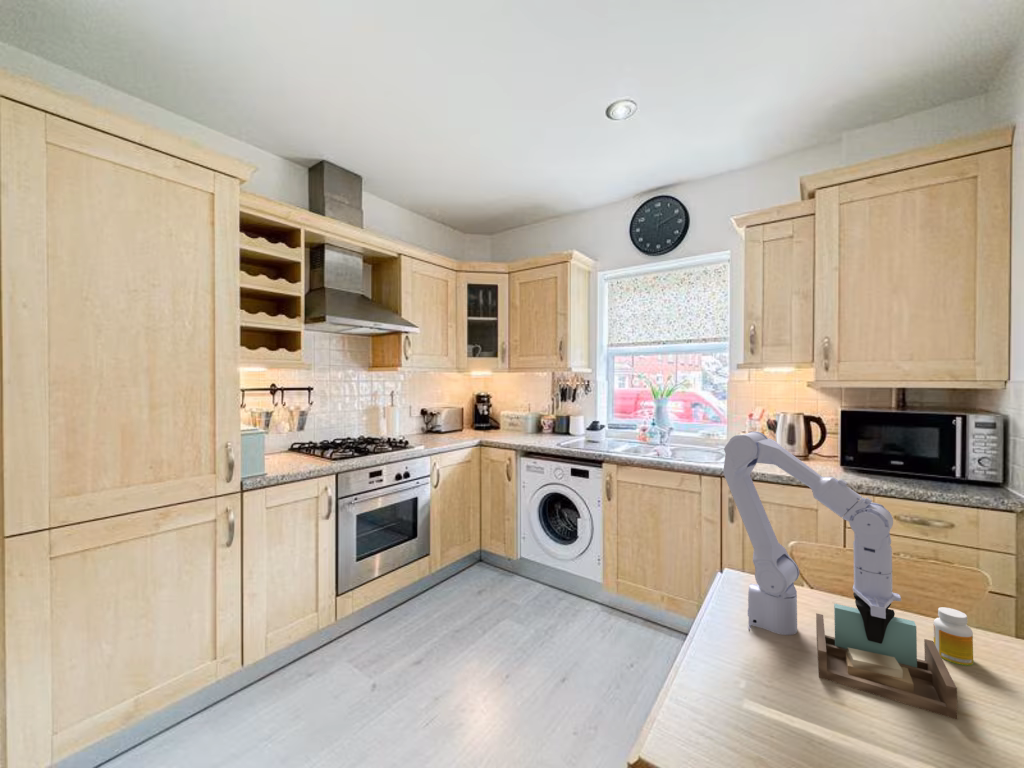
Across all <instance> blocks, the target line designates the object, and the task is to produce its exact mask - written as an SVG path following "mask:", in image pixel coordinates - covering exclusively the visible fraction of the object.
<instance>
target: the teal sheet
mask: <svg viewBox="0 0 1024 768" xmlns="http://www.w3.org/2000/svg"><path fill="white" fill-rule="evenodd" d="M833 610H834V613H833V615H834V637H835V646H838V647H841V648H845V649H848V648H853V649H858V650H863V651H867V652H872V653H877V654H882V655H886V656H891V657H895V659H896V660H897V662H898V663H901V664H905V665H909V666H912V667H916V668H917V659H918V647H917V646H918V645H917V641H918V637H917V625H916V622H915V621H914V620H911V619H905V618H901V617H897V616H894V617H893V618H892V619H891V621H890V622H889V624H888V625H887V628H886V631H885V635H884V639H883V642H882V644H880V643H876V642H872V641H869V640H868V639H867V636H866V632H865V628H864V622H863V619H862V616H861V614H860V612H859V610H858V608H857V607H852V606H847V605H843V604H838V603H833Z"/></svg>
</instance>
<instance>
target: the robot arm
mask: <svg viewBox="0 0 1024 768" xmlns="http://www.w3.org/2000/svg"><path fill="white" fill-rule="evenodd" d="M723 450H724V454H725V455H724V464H723V471H722V473H723V476H724V478H725V481H726V484H727V486H728V488H729V490H730V492H731V493H730V494H731V496H732V498H733V501H734V504H735V505H736V507H737V510H738V513H739V515H740V518H741V520H742V523H743V526H744V528H745V530H746V533H747V536H748V538H749V540H750V542H751V545H752V548H753V554H752V563H753V565H754V569H755V570H754V571H755V572H754V579H755V582H756V583H749V586H748V594H747V595H748V597H747V598H748V599H747V602H748V603H747V606H748V607H747V616H748V630H749V631H751V626H753V627H756V628H760V629H764V630H767V631H769V632H772V633H774V634H777V635H781V636H782V635H783V636H792V635H796V634H797V632H798V592H797V589H796V586H795V582H796V581H797V580H798V579H799V577H800V569H799V565H797V563H796V562H795V561H794V559H793V558H792V557H790V555H789V553H788V552H787V549H786V547H784V546H783V545H782V544H781V543H780V542H779V541H778V538H777V536H776V533H775V531H774V529H773V527H772V524H771V521H770V519H769V517H768V514H767V512H766V510H765V508H764V505H763V503H762V500H761V498H760V496H759V494H758V491H757V489H756V487H755V483H754V481H753V479H752V477H751V476H752V475H751V473H752V472H753V470H754V468H755V467H756V465H757V464H765V465H766V464H767V465H774V466H776V467H778V468H779V469H780V470H783V471H784V472H785V473H786V474H789V475H790V476H792V477H793V478H794V479H796V480H798V481H799V482H801V483H802V484H804V485H805V486H807V487H809V488H810V490H811V492H812V495H813V498H814V499H815V500H816V501H817V502H819V503H821V504H822V505H823V506H825V507H826V508H827V509H829V511H832V512H833V513H834V514H836V515H837V516H839V517H840V518H842V519H843V520H845V521H847V522H848V523H849V526H850V528H851V530H852V531H853V537H854V538H853V539H854V540H853V543H852V545H853V547H852V548H853V585H852V591H853V594H852V595H853V597H854V599H855V601H854V603H855V607H856V608H857V609H858V610H859V612H860V614H861V616H862V619H863V622H864V628H865V632H866V636H867V639H868V640H869V641H872V642H876V643H880V644H882V642H883V639H884V635H885V631H886V628H887V625H888V624H889V622H890V621H891V619H892V618H893V617H895V610H894V609H892V608H890V607H891V605H892V603H893V602H894V601H895V602H902V597H901V595H900V593H897V592H896V593H895V592H893V549H892V546H891V544H892V539H891V533H890V532H891V529H892V528H893V525H894V518H893V515H892V513H891V512H890V511H889V510H888V509H887V508H886V507H884V505H883V504H880V503H877V502H873V500H872V499H871V498H869V497H868V496H867V497H866V498H865V497H863V496H862V495H861V494H859V493H858V492H856V491H855V490H853V489H852V488H850V487H849V486H847V484H848V482H847V481H846V480H844V479H842V478H840V479H836V478H835V477H833V476H826V477H825V476H822V475H821V474H820V473H818V472H817V471H816V470H814V469H813V468H811V467H810V466H809V465H807V464H806V463H805V462H804V461H802V460H800V459H799V458H798V457H797V456H795V455H794V454H792V453H791V452H790V451H789V450H787V449H786V448H784V447H783V446H782V445H780V444H779V443H778V442H777V441H776V440H774V439H772V438H770V437H769V438H768V437H767V435H766V434H764V433H763V432H760V431H750V432H747V433H743V434H742V433H741V434H736V435H733V436H732V437H731V438H730V439H729V440H728V442H727V443H726V445H725V446H724V448H723Z"/></svg>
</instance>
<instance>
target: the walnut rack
mask: <svg viewBox="0 0 1024 768" xmlns="http://www.w3.org/2000/svg"><path fill="white" fill-rule="evenodd" d="M815 616H816V617H815V619H816V621H815V622H816V623H815V624H816V631H815V632H816V649H817V650H816V651H817V666H818V667H817V669H818V678H819V679H822V680H823V679H824V680H826V681H829V682H832V683H835V684H839V685H842V686H846V687H848V688H853V689H855V690H858V691H862V692H865V693H868V694H871V695H875V696H879V697H881V698H885V699H888V700H892V701H894V702H895V701H896V702H897V703H900V704H904V705H907V706H911V707H915V708H916V709H917V708H918V709H920V710H924V711H927V712H931V713H934V714H938V715H940V716H944V717H947V718H950V719H954V720H956V721H958V687H957V686H956V684H955V682H954V680H953V678H952V676H951V674H950V672H949V670H948V668H947V666H946V663H945V662H944V659H942V658H941V656H940V654H939V652H938V650H937V648H936V646H935V644H934V640H930V639H925V638H924V639H923V640H924V641H923V642H924V643H923V645H924V659H923V660H922V659H919V658H917V668H916V667H912V666H909V665H905V664H901V663H898V664H899V665H900V666H901V667H905V668H908V671H909V673H910V676H911V679H912V681H913V684H914V693H912V692H909V691H906V690H902V689H899V688H895V687H892V686H889V685H885V684H882V683H878V682H875V681H872V680H868V679H865V678H861V677H858V676H854V675H851V674H848V671H847V664H846V652H848V649H845V648H841V647H838V646H835V636H830V635H826V632H825V620H824V619H825V618H824V615H823V614H821V613H815Z"/></svg>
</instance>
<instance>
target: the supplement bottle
mask: <svg viewBox="0 0 1024 768" xmlns="http://www.w3.org/2000/svg"><path fill="white" fill-rule="evenodd" d="M937 616H938V617H936V618H935V619H934V620H933V642H934V644H935V646H936V648H937V650H938V652H939V654H940V656H941V658H942V660H943V661H944V660H945V661H947V662H949V663H953V664H956V665H958V666H966V667H967V666H969V667H970V666H973V665H974V636H973V634H974V633H973V630H972V628H971V627H970V626H969V625H967V624H968V616H967V614H966V613H965V612H963V611H960V610H959V609H955V608H952V607H951V608H950V607H945V606H944V607H943V606H942V607H941V606H940V607H938V609H937Z"/></svg>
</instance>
